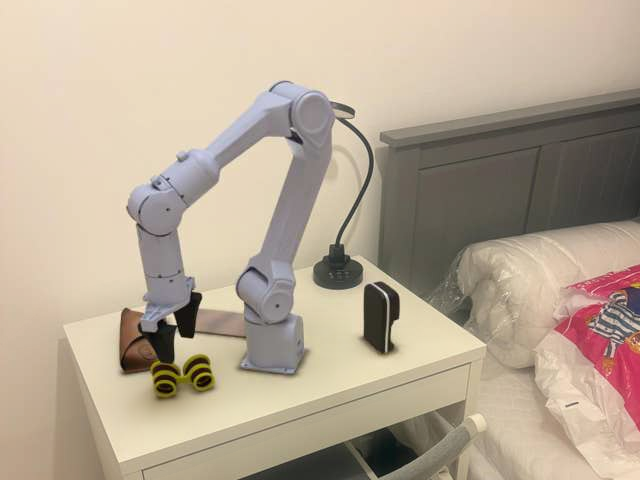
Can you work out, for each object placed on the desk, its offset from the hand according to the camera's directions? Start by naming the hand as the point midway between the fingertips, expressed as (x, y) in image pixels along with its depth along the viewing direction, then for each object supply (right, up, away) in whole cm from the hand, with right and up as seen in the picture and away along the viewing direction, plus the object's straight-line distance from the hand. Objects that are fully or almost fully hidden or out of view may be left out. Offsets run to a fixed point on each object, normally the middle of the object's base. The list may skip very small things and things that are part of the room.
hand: (177, 349), depth 103 cm
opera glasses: (0, -6, +4) cm, 8 cm away
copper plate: (+3, +6, +21) cm, 22 cm away
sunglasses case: (-9, +2, +16) cm, 18 cm away
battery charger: (+33, +2, +14) cm, 36 cm away
